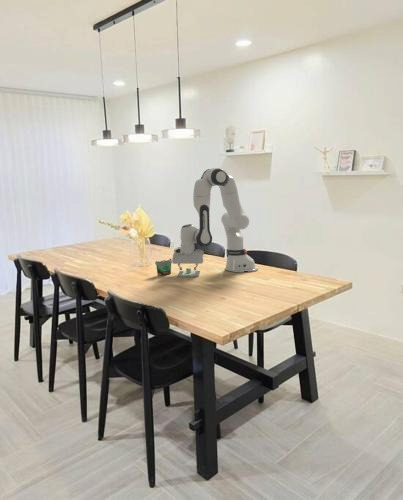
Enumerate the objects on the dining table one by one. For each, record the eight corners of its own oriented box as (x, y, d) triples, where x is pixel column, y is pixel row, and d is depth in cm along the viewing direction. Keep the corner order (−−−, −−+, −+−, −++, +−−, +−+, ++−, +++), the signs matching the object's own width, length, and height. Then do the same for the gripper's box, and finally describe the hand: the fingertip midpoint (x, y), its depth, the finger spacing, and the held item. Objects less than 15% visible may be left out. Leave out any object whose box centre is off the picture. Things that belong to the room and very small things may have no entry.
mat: (200, 271, 269) (200, 270, 269) (198, 277, 252) (198, 277, 252) (179, 271, 270) (179, 271, 270) (176, 278, 253) (176, 277, 253)
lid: (195, 271, 267) (195, 266, 266) (194, 276, 254) (193, 270, 254) (183, 271, 268) (183, 266, 267) (181, 276, 255) (181, 270, 254)
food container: (161, 277, 255) (160, 262, 254) (155, 276, 260) (155, 261, 258) (176, 274, 263) (175, 259, 261) (171, 272, 268) (170, 258, 266)
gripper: (203, 248, 260) (204, 269, 263) (172, 248, 261) (173, 268, 264) (203, 250, 254) (203, 271, 256) (171, 250, 255) (172, 271, 257)
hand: (187, 270), depth 260 cm, fingers open, 8 cm apart
